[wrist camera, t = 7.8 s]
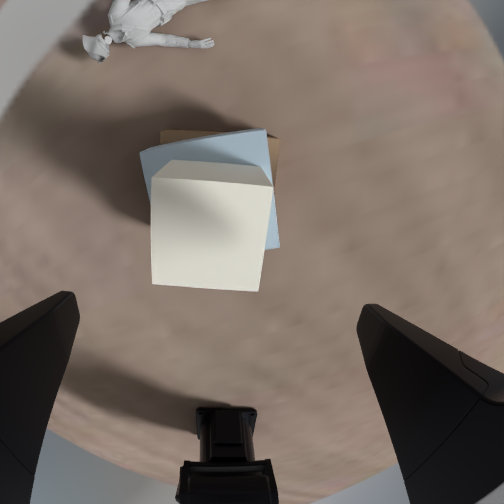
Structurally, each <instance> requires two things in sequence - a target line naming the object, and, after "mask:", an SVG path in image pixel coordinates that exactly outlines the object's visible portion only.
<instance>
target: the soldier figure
mask: <svg viewBox="0 0 504 504" xmlns="http://www.w3.org/2000/svg"><path fill="white" fill-rule="evenodd" d="M203 1H207V0H134V1H132V2H130V0H114V1H113V2H112V5H111V8H110V10H109V14H107V15H108V19H109V23H110V29H109V32H108V33H107V32H106V33H104V34H107V35H109V36H110V37H109V36H106V37H105V41H104V39H103V38H102V35H101V36H100V34H98V35H97V36H95V37H89V36H86V35H83V46H84V49H85V50H86V51H87V53H88V55H89V56H90V58H92V59H93V60H96V61H99V60H100V61H99V62H98V63H101V62H103V61H104V60H105V59H106V57H107V56H108V55H109V52H110V49H109V46H108V45H107V44H111V42H112V40H113V41H114V42H115V43H121V42H125V43H126V44H127V45H130V46H131V47H133V48H135V47H142V46H153V45H155V46H163V47H181V48H189V47H191V48H202V49H203V48H210V47H212V46H214V45H213V44H215V43H211V42H213V41H214V40H212V41H209V42H205V41H208V40H210V39H211V38H208V39H205V40H193V41H190V39H188V38H184V37H179V36H174V35H171V34H163V33H153V32H150V31H151V30H152V29H153V28H155V27H156V26H157V27H159V26H161V25H163V24H165V23H166V22H168V21H169V20H171V18H172V16H173V14H175V13H176V12H177V11H180V10H182V9H183V8H184V6H188V5H192V4H195V3H199V2H203ZM209 43H210V44H209Z"/></svg>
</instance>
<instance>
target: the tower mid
mask: <svg viewBox="0 0 504 504" xmlns="http://www.w3.org/2000/svg"><path fill="white" fill-rule="evenodd" d="M139 154H140V159H141V164H142V169H143V174H144V178H145V183H146V187H147V192H148V196H149V200H150V204H151V179H152V177H153V176H154V175H155V174H156V173H157V172H158V171H159V170H161V169H162V168H163V167H164V166H165V165H166V164H167V163H169V162H170V161H171V160H188V161H203V162H217V163H229V164H240V165H250V166H259V167H261V168H262V170H263V171H264V173H265V174H266V176H267V177H268V179H269V180H270V182H271V183H272V185H273V182H272V173H271V165H270V157H269V149H268V141H267V133H266V130H265V129H262V128H256V129H248V130H241V131H234V132H227V133H221V134H215V135H209V136H203V137H198V138H192V139H187V140H182V141H177V142H172V143H167V144H163V145H158V146H154V147H150V148H148V149H146V150H143V151H141V152H139ZM279 247H280V245H279V236H278V226H277V217H276V208H275V199H274V190H273V195H272V202H271V209H270V216H269V223H268V230H267V236H266V243H265V250H266V249H273V248H279Z"/></svg>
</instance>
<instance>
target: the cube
mask: <svg viewBox="0 0 504 504" xmlns="http://www.w3.org/2000/svg"><path fill="white" fill-rule="evenodd" d="M273 188H274V187H273V185H272V183H271V182H270V180H269V179H268V177H267V176H266V174H265V173H264V171H263V170H262V168H261V167H259V166H250V165H240V164H229V163H217V162H203V161H188V160H171V161H170V162H169V163H167V164H166V165H165V166H164V167H163V168H162V169H161V170H159V171H158V172H157V173H156V174H155V175H154V176H153V177H152V179H151V265H152V284H159V285H171V286H183V287H196V288H210V289H225V290H240V291H258V290H259V283H260V276H261V270H262V263H263V257H264V250H265V243H266V236H267V230H268V223H269V216H270V209H271V202H272V195H273Z"/></svg>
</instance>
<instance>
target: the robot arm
mask: <svg viewBox="0 0 504 504" xmlns="http://www.w3.org/2000/svg"><path fill="white" fill-rule="evenodd" d="M79 321H80V314H79V309H78V305H77V301H76V297H75V294H74V293H73V292H70V291H60V292H58V293H56V294H54V295H52V296H51V297H49V298H47V299H45V300H43V301H41V302H39V303H37V304H35V305H33V306H31V307H29V308H27V309H25V310H23V311H21V312H19V313H18V314H16V315H14V316H12V317H10V318H8V319H6V320H4V321H3V322H1V323H0V504H30V499H31V493H32V488H33V483H34V478H35V477H34V475H35V472H36V467H37V463H38V458H39V455H40V450H41V447H42V443H43V439H44V435H45V431H46V428H47V424H48V421H49V418H50V414H51V411H52V408H53V405H54V402H55V398H56V395H57V392H58V389H59V386H60V384H61V381H62V378H63V375H64V372H65V369H66V367H67V364H68V361H69V357H70V354H71V350H72V346H73V342H74V339H75V335H76V332H77V328H78V325H79ZM357 334H358V338H359V342H360V346H361V350H362V353H363V357H364V361H365V365H366V369H367V372H368V375H369V378H370V380H371V383H372V386H373V388H374V391H375V394H376V397H377V400H378V402H379V405H380V408H381V411H382V414H383V417H384V420H385V423H386V425H387V428H388V431H389V434H390V438H391V441H392V444H393V447H394V450H395V453H396V456H397V459H398V463H399V466H400V469H401V472H402V475H403V479H404V483H405V486H406V490H407V494H408V497H409V501H410V504H504V374H503V373H501V372H499V371H497V370H495V369H493V368H491V367H489V366H487V365H485V364H483V363H481V362H479V361H478V360H476V359H474V358H472V357H470V356H468V355H467V354H465V353H463V352H461V351H458V349H456V348H454V347H453V346H451V345H449V344H447V343H446V342H444V341H442V340H440V339H439V338H437V337H435V336H433V335H431V334H430V333H428V332H426V331H424V330H423V329H421V328H419V327H417V326H415V325H414V324H412V323H410V322H408V321H407V320H405V319H403V318H401V317H399V316H398V315H396V314H394V313H392V312H390V311H389V310H387V309H385V308H383V307H381V306H380V305H378V304H365V305H364V306H363V308H362V311H361V314H360V317H359V320H358V323H357ZM256 417H257V410H255V409H210V408H198V409H196V422H197V436H198V439H200V462H191V461H186V460H185V461H184V466H182V467H180V479H179V484H178V488H177V492H176V496H175V498H176V501H177V502H178V503H179V504H279V500H278V491H277V485H276V481H275V477H274V473H273V469H272V464H271V460H270V459H265V460H259V461H255V456H254V447H253V438H252V437H253V432H254V427H255V422H256Z"/></svg>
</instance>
